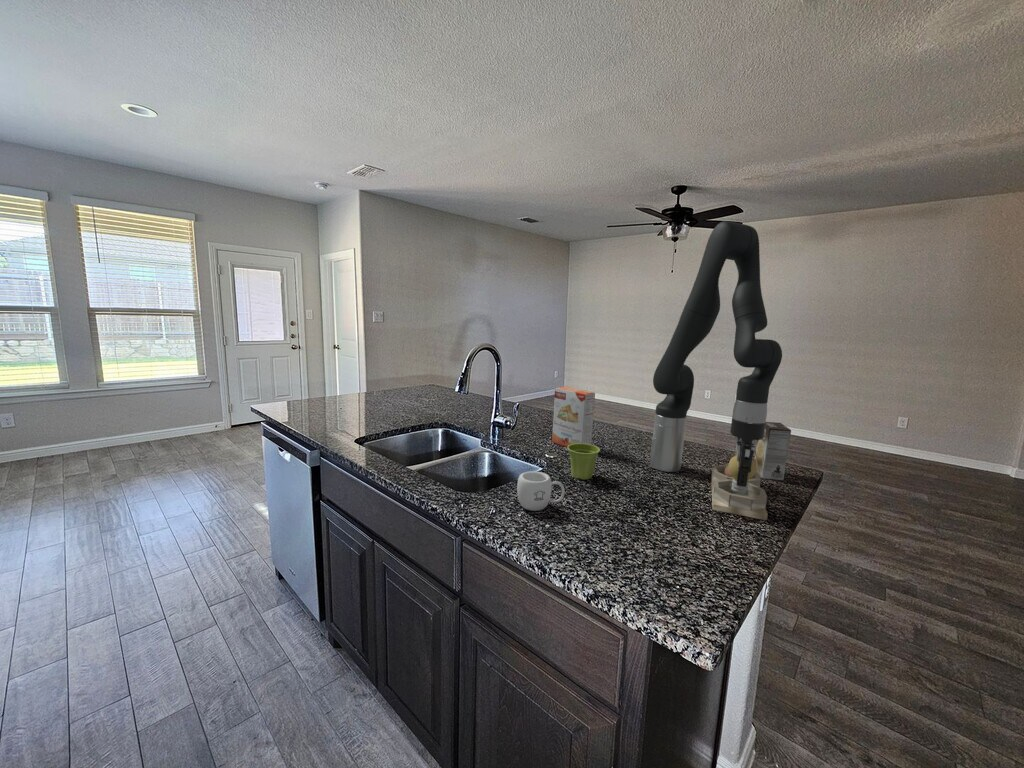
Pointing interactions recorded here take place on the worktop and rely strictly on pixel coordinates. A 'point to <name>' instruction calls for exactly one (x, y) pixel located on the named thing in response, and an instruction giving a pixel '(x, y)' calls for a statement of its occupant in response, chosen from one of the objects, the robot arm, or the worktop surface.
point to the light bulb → (734, 472)
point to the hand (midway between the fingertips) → (740, 480)
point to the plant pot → (582, 460)
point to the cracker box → (573, 416)
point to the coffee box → (772, 451)
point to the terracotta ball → (727, 471)
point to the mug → (536, 490)
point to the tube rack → (738, 495)
